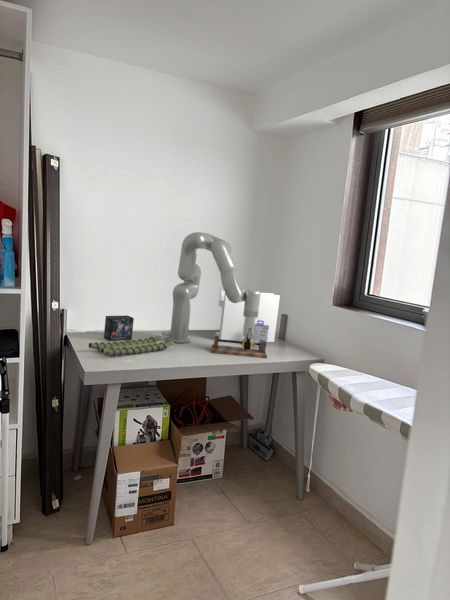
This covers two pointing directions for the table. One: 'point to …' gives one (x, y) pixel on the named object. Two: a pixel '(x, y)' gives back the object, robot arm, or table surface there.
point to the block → (235, 320)
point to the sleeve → (244, 342)
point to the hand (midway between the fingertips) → (246, 348)
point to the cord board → (239, 348)
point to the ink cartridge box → (260, 332)
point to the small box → (118, 328)
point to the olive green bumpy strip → (131, 346)
